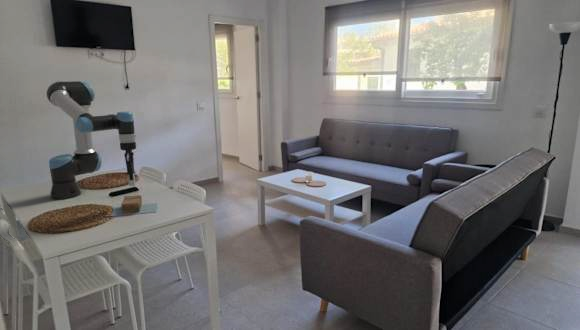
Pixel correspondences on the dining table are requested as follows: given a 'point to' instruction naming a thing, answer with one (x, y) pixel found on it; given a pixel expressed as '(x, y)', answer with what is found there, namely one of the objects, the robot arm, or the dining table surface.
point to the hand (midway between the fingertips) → (132, 185)
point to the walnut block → (131, 204)
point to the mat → (144, 209)
